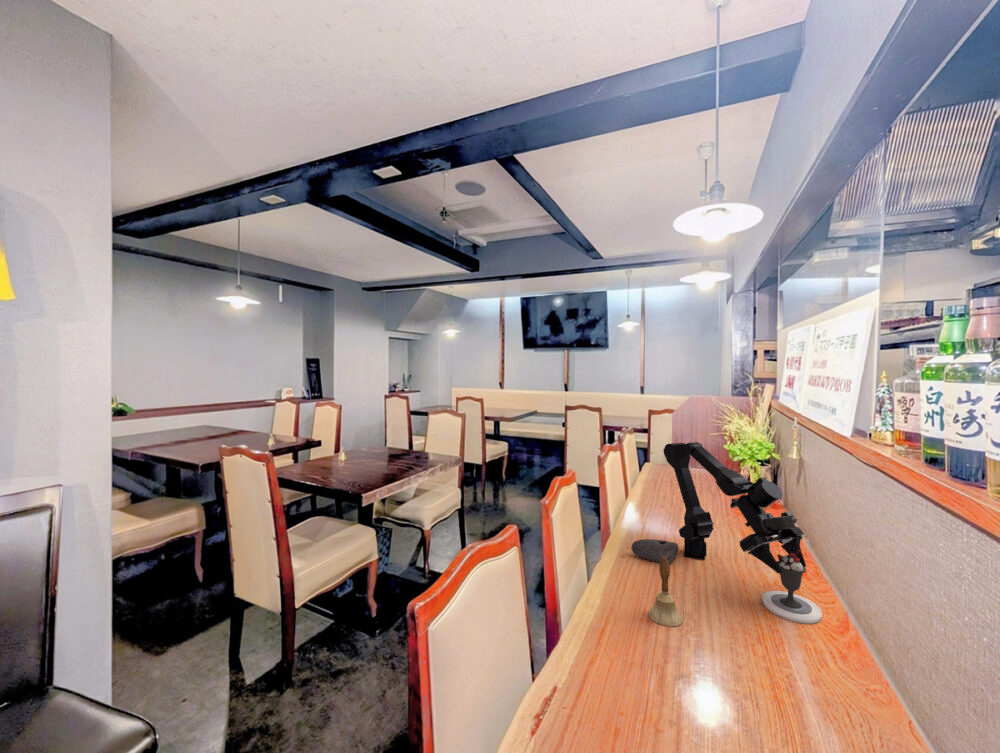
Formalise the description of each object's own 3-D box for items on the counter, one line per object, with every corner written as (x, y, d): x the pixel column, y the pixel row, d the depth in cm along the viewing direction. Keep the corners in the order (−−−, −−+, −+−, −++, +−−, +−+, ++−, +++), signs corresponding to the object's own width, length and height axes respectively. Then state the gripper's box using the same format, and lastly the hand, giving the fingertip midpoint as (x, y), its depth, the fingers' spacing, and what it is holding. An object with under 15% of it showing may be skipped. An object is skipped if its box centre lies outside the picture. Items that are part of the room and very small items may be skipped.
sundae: (811, 611, 104) (811, 554, 104) (782, 608, 106) (782, 552, 106) (798, 598, 111) (798, 544, 111) (771, 595, 112) (771, 541, 112)
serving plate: (765, 615, 106) (765, 609, 106) (759, 590, 117) (759, 585, 117) (827, 629, 100) (827, 623, 100) (815, 602, 111) (815, 597, 111)
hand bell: (667, 631, 100) (667, 567, 99) (641, 613, 107) (641, 553, 107) (689, 621, 103) (690, 559, 103) (663, 604, 111) (663, 547, 110)
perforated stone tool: (629, 558, 138) (630, 538, 138) (632, 552, 142) (632, 532, 142) (677, 568, 131) (677, 547, 131) (678, 561, 135) (678, 541, 135)
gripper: (749, 506, 110) (789, 564, 99) (797, 498, 116) (840, 553, 105) (724, 523, 117) (759, 580, 107) (770, 515, 123) (808, 568, 113)
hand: (792, 570), depth 108 cm, fingers open, 9 cm apart
